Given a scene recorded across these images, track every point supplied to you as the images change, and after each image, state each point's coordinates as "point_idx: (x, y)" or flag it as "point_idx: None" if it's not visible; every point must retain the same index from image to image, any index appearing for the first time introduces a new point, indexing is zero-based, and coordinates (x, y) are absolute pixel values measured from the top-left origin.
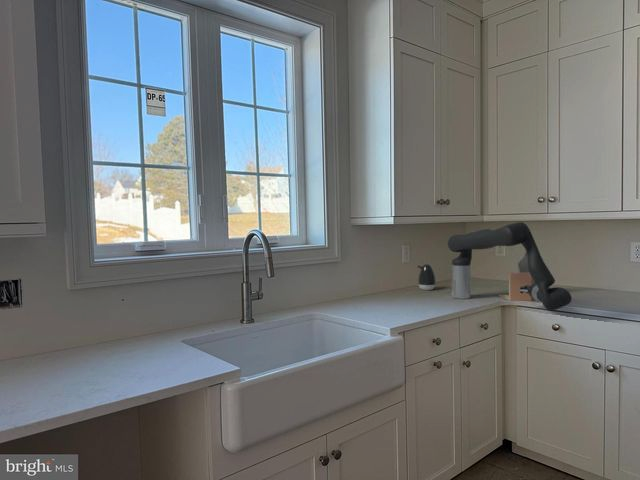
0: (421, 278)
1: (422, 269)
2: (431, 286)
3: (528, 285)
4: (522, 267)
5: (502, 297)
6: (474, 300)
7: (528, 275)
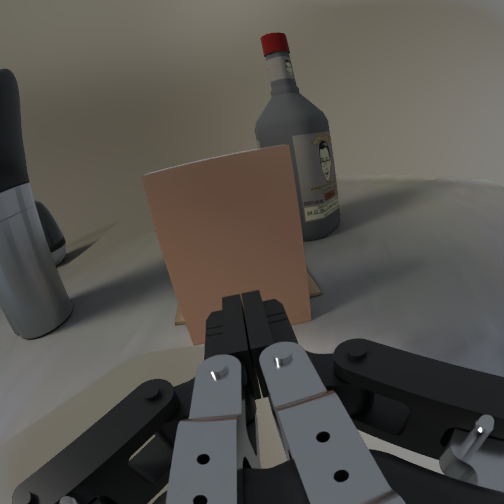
0: None
1: None
2: None
3: (240, 313)
4: (268, 138)
5: None
6: (45, 356)
7: (272, 166)
